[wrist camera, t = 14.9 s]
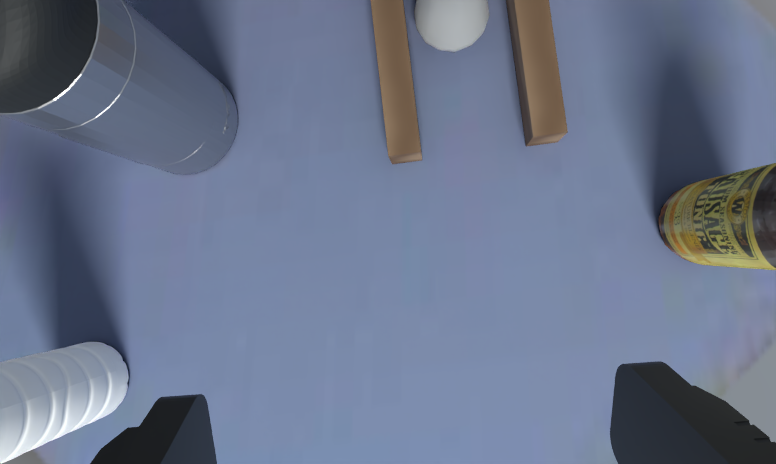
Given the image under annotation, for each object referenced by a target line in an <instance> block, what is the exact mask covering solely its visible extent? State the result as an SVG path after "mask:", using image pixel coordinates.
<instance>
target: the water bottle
mask: <svg viewBox="0 0 776 464" xmlns="http://www.w3.org/2000/svg"><path fill="white" fill-rule="evenodd" d="M128 379H129V375H128V369H127V366H126V364H125V362H124V361H123V360H122V356H121V355H120V354H119V353H118V352H117V351H116V350H115V349H114V348H113V347H111V346H108V345H106V344H104V343H101V342H85V343H80V344H76V345H72V346H68V347H65V348H59V349H55V350H51V351H47V352H44V353H37V354H33V355H28V356H25V357H21V358H15V359H10V360H7V361H3V362H0V464H1V463H4V462H6V461H9V460H11V459H13V458H15V457H17V456H19V455H21V454H23V453H24V452H27V451H30V450H32V449H35V448H37V447H39V446H41V445H43V444H45V443H47V442H49V441H52V440H54V439H57V438H59V437H61V436H63V435H65V434H66V433H69V432H71V431H74V430H76V429H78V428H80V427H82V426H84V425H86V424H89V423H92V422H94V421H96V420H98V419H100V418H103V417H105V416H107V415H108V414H110V413H111V412H113V411H114V410H115V409H116V408H117V407H118V405H119V404H120V403H121V402H122V401H123V399H124V397H125V395H126V392H127V389H128V384H127V382H128Z"/></svg>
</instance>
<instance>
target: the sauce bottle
mask: <svg viewBox="0 0 776 464" xmlns="http://www.w3.org/2000/svg"><path fill="white" fill-rule="evenodd" d="M659 228H660V232H661V236H662V237H663V240H664V242H665V245H666V246H667V247H668V248H669V249H670V250H671V251H673V252H674V253H675V254H676V255H678V256H680V257H681V258H684V259H686V260H688V261H690V262H694V263H697V264H702V265H712V266H726V267H740V268H754V269H768V270H776V163H774V164H770V165H765V166H761V167H757V168H753V169H748V170H744V171H740V172H736V173H732V174H728V175H723V176H719V177H715V178H710V179H706V180H702V181H699V182H695V183H692V184H690V185H687V186H685V187H684V188H682V189H680V190H678V191H676V192H675V193H673V194H672V195H671V197H670V198H669V199H668V200H667V201H666V203H665V204H664V206H663V207H662V209H661V214H660V216H659Z"/></svg>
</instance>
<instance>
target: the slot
mask: <svg viewBox="0 0 776 464" xmlns="http://www.w3.org/2000/svg"><path fill="white" fill-rule="evenodd" d="M506 4H507V11H508V19H509V26H510V33H511V41H512V48H513V55H514V62H515V70H516V77H517V84H518V92H519V99H520V106H521V114H522V121H523V128H524V136H525V143H526V146H532V145H540V144H547V143H555V142H558V141H559V140H560V139H561V138H562V137H563V136H564V135H565V134H566V133H567V132H568V131H567V124H566V117H565V110H564V104H563V97H562V90H561V83H560V76H559V69H558V62H557V55H556V48H555V41H554V34H553V27H552V20H551V13H550V6H549V0H506ZM371 8H372V16H373V25H374V34H375V43H376V51H377V60H378V69H379V78H380V86H381V95H382V104H383V112H384V121H385V130H386V139H387V147H388V156H389V158H390V161H391V163H392V164H398V163H405V162H413V161H420V160H422V154H421V145H420V137H419V129H418V120H417V112H416V104H415V95H414V87H413V79H412V70H411V62H410V54H409V45H408V37H407V29H406V20H405V12H404V4H403V0H371Z"/></svg>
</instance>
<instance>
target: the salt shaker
mask: <svg viewBox="0 0 776 464" xmlns="http://www.w3.org/2000/svg"><path fill="white" fill-rule="evenodd" d="M414 15H415V21H416V28H417V30H418V32H419V33H420V35H421V36H422V38H423V39H424V41H425V42H426V43H427V44H429V45H431V46H432V47H434V48H436V49H438V50H440V51H449V52H453V53H455V52H456V51H459V50H461V49H464V48H466V47H469V46H471V45H472V44H473V43H474V42H475V41H476V40H477V39H478V38H479V37H480V36H481V35H482V34H483V32H484V30H485V27H486V24H487V21H488V18H489V9H488V1H487V0H417V2H416V6H415V10H414Z"/></svg>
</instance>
